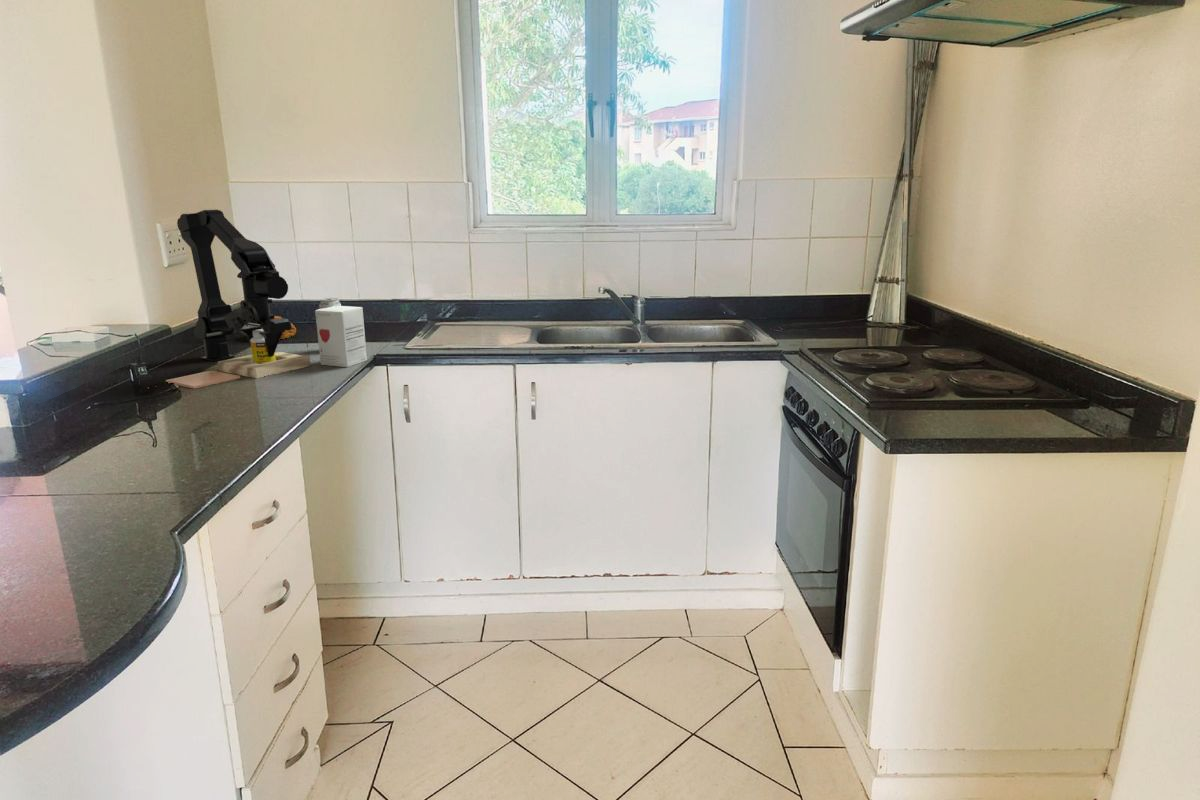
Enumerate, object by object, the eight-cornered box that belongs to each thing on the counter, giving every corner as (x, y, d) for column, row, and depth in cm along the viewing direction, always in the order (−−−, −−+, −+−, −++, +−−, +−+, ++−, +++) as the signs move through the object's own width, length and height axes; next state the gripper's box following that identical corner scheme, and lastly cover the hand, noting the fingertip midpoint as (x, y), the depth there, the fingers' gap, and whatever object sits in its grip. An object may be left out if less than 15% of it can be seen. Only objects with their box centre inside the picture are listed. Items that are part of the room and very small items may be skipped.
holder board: (219, 371, 200) (218, 361, 199) (273, 359, 213) (272, 350, 212) (257, 378, 192) (255, 368, 191) (310, 365, 205) (309, 356, 204)
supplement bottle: (256, 371, 199) (251, 333, 196) (252, 367, 203) (247, 329, 200) (278, 369, 201) (274, 330, 199) (274, 365, 206) (269, 327, 203)
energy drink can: (328, 353, 220) (323, 301, 216) (320, 350, 224) (315, 299, 220) (349, 350, 224) (343, 299, 220) (340, 347, 228) (335, 297, 224)
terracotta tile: (166, 382, 188) (165, 380, 188) (212, 372, 198) (211, 370, 198) (194, 388, 182) (193, 386, 182) (240, 378, 192) (239, 375, 192)
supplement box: (319, 365, 205) (313, 309, 201) (341, 358, 213) (335, 304, 209) (347, 367, 202) (341, 311, 198) (368, 360, 210) (363, 306, 206)
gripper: (205, 297, 195) (214, 357, 200) (249, 302, 186) (258, 365, 190) (244, 292, 204) (252, 349, 209) (289, 297, 195) (296, 356, 199)
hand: (263, 355), depth 201 cm, fingers open, 6 cm apart
